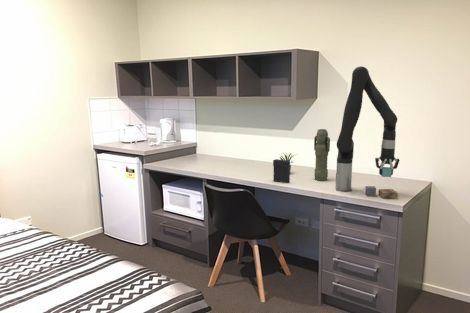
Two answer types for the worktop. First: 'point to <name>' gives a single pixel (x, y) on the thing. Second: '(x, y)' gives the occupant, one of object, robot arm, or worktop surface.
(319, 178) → the olive green figurine
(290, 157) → the house plant
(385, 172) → the teal cube
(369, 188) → the charcoal cube
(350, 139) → the robot arm
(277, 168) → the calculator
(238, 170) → the worktop surface
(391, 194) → the brown square block
